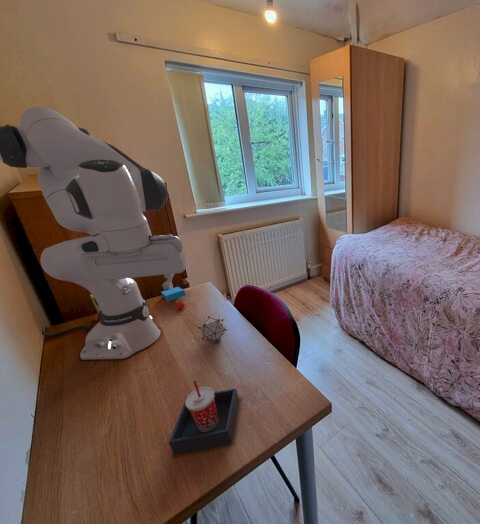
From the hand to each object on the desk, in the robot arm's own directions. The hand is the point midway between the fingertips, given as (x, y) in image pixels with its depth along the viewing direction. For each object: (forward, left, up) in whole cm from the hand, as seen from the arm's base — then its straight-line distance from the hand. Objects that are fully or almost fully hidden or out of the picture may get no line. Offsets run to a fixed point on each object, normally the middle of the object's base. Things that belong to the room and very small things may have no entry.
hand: (147, 291), depth 69 cm
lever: (-17, +50, -31) cm, 61 cm away
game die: (+5, +20, -31) cm, 37 cm away
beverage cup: (+11, -15, -30) cm, 36 cm away
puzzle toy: (-37, +45, -31) cm, 66 cm away
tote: (+11, -15, -31) cm, 36 cm away
